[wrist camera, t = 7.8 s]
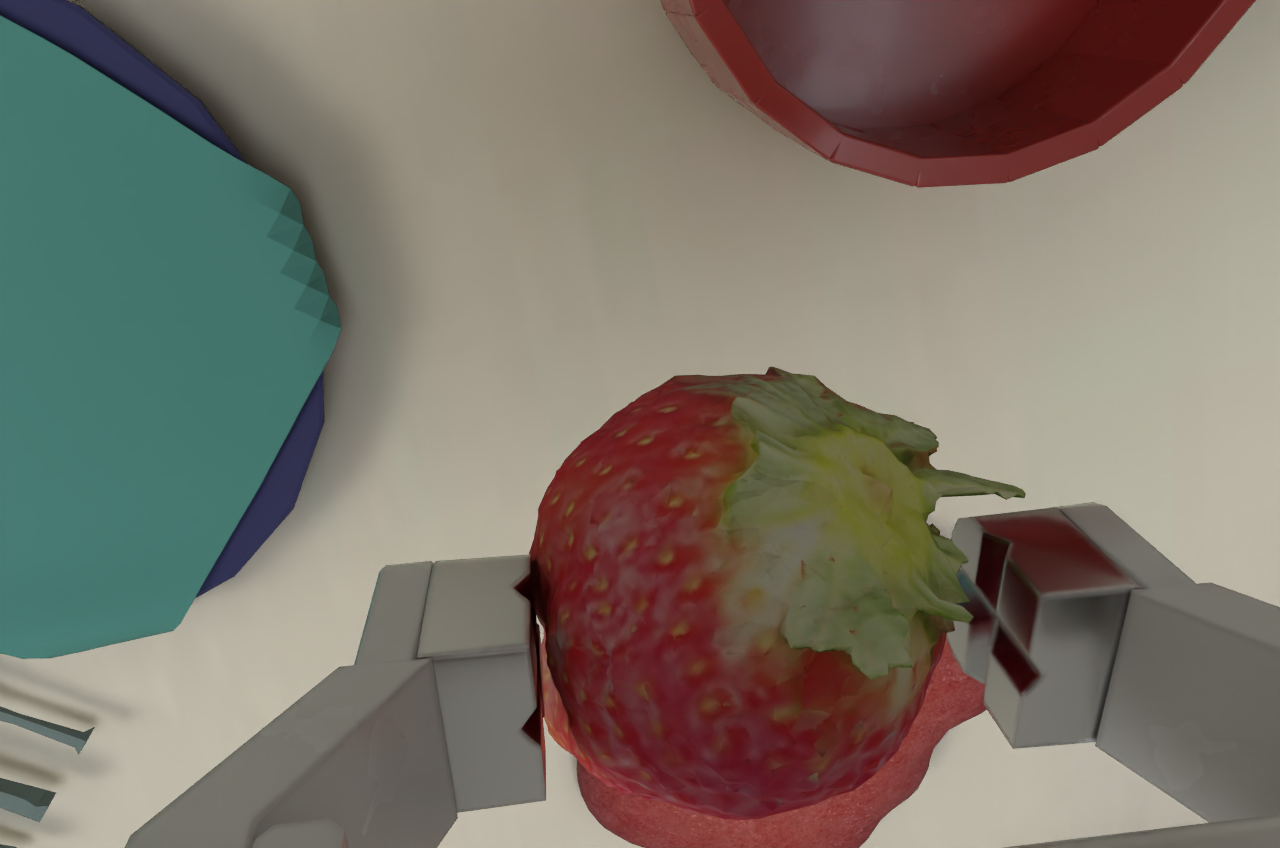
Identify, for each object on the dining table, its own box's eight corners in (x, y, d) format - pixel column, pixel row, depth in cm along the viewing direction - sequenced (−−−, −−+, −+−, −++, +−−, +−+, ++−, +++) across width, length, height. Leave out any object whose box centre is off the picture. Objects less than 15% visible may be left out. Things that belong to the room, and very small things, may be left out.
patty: (766, 452, 31) (781, 481, 29) (1062, 602, 35) (1091, 635, 33) (524, 800, 36) (523, 842, 34) (804, 893, 40) (817, 935, 39)
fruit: (397, 609, 12) (320, 999, 7) (676, 215, 10) (811, 396, 5) (665, 734, 13) (743, 1126, 8) (948, 410, 11) (1236, 681, 7)
